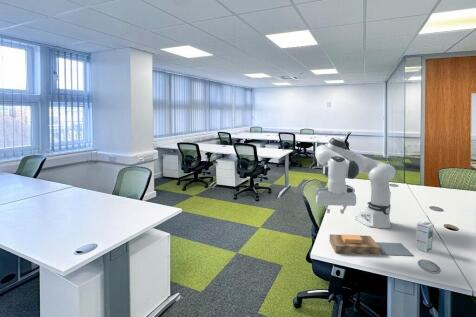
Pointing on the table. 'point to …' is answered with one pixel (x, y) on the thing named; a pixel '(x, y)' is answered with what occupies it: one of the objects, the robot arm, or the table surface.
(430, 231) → the syrup box
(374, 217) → the robot arm
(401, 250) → the mat
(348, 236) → the block
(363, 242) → the deck
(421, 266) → the table surface
